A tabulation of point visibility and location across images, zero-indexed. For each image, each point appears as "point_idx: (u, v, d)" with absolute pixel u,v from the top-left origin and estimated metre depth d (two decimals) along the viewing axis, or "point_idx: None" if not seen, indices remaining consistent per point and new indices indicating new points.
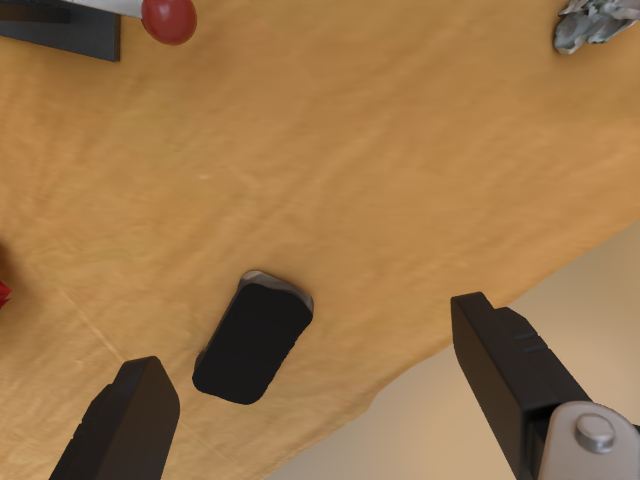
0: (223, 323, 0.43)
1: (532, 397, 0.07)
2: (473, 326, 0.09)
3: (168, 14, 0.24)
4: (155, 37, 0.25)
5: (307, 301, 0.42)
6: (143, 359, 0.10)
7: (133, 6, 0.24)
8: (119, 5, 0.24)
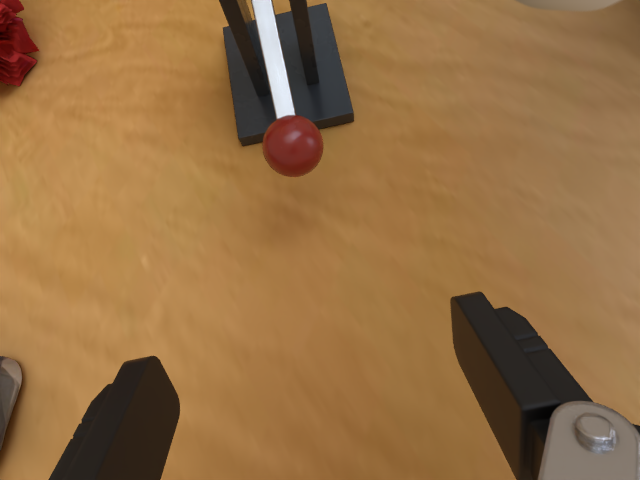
0: None
1: (532, 397, 0.07)
2: (473, 326, 0.09)
3: (291, 136, 0.21)
4: (264, 136, 0.22)
5: None
6: (143, 359, 0.10)
7: (284, 107, 0.22)
8: (279, 94, 0.22)
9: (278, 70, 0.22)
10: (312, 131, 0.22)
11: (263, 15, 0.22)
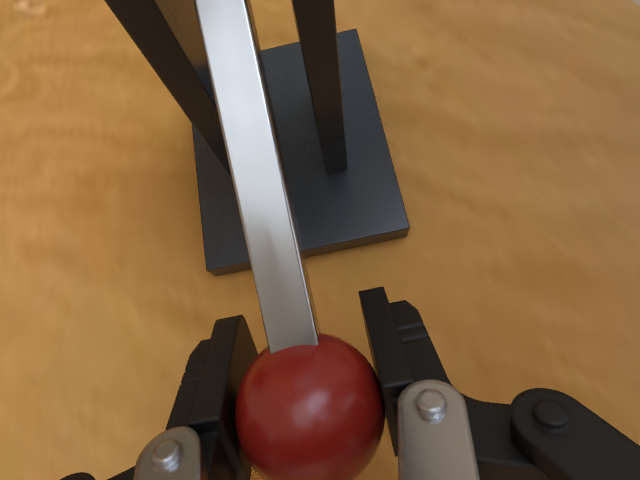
0: None
1: (394, 377, 0.08)
2: (366, 317, 0.10)
3: (308, 438, 0.08)
4: (238, 399, 0.09)
5: None
6: (234, 317, 0.11)
7: (291, 326, 0.09)
8: (277, 294, 0.09)
9: (274, 232, 0.09)
10: (364, 405, 0.08)
11: (237, 94, 0.09)
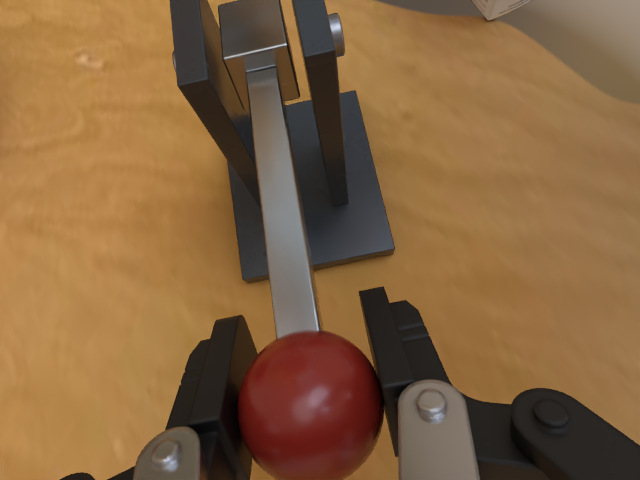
0: None
1: (394, 377, 0.08)
2: (366, 317, 0.10)
3: (302, 389, 0.08)
4: (243, 378, 0.09)
5: None
6: (234, 317, 0.11)
7: (296, 314, 0.10)
8: (287, 286, 0.10)
9: (288, 239, 0.11)
10: (358, 373, 0.09)
11: (270, 151, 0.12)
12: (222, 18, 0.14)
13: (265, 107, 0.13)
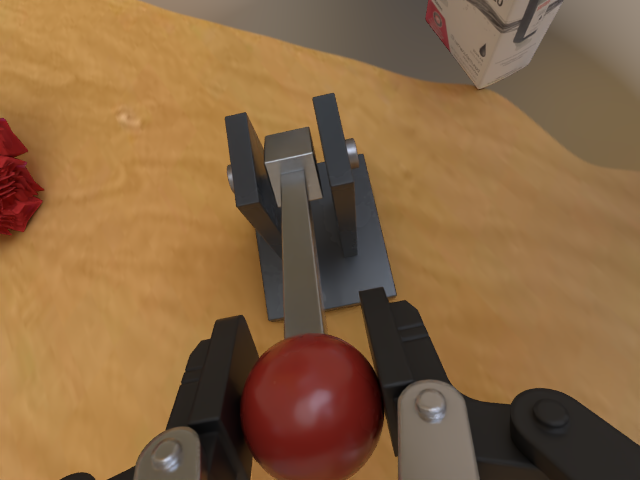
0: None
1: (394, 377, 0.08)
2: (366, 317, 0.10)
3: (301, 358, 0.09)
4: None
5: None
6: (234, 317, 0.11)
7: (304, 325, 0.11)
8: (298, 306, 0.12)
9: (303, 273, 0.13)
10: (355, 358, 0.09)
11: (294, 218, 0.15)
12: (267, 142, 0.19)
13: (293, 192, 0.16)
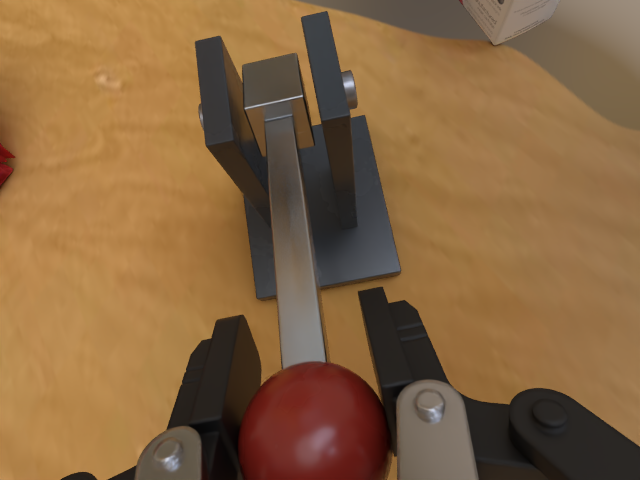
0: None
1: (393, 377, 0.08)
2: (365, 317, 0.10)
3: (305, 417, 0.08)
4: (246, 409, 0.09)
5: None
6: (235, 317, 0.11)
7: (303, 344, 0.10)
8: (295, 317, 0.10)
9: (298, 271, 0.11)
10: (364, 404, 0.08)
11: (283, 190, 0.13)
12: (245, 75, 0.15)
13: (281, 151, 0.14)
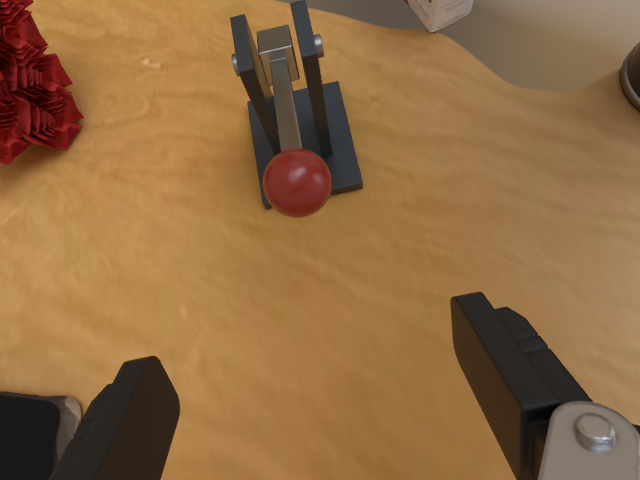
0: None
1: (532, 397, 0.07)
2: (473, 326, 0.09)
3: (292, 155, 0.19)
4: (266, 169, 0.20)
5: None
6: (143, 359, 0.10)
7: (291, 148, 0.21)
8: (288, 139, 0.21)
9: (289, 123, 0.22)
10: (317, 157, 0.19)
11: (281, 91, 0.24)
12: (258, 37, 0.27)
13: (280, 74, 0.25)
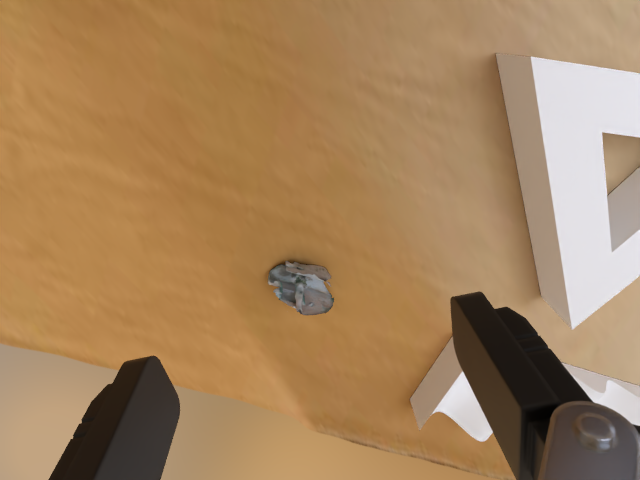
0: None
1: (532, 397, 0.07)
2: (473, 326, 0.09)
3: None
4: None
5: None
6: (143, 359, 0.10)
7: None
8: None
9: None
10: None
11: None
12: None
13: None
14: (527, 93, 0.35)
